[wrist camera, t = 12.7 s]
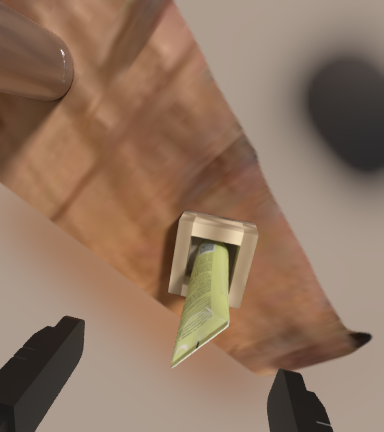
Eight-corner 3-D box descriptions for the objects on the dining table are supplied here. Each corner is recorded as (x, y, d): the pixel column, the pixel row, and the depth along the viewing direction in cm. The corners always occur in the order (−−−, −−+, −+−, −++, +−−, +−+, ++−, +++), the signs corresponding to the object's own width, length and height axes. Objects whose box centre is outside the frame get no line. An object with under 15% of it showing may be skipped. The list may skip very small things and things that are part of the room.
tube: (227, 271, 42) (225, 378, 23) (196, 268, 42) (169, 370, 24) (229, 238, 40) (229, 325, 22) (197, 236, 41) (169, 318, 22)
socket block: (174, 276, 44) (167, 292, 40) (185, 209, 41) (179, 219, 36) (238, 290, 44) (239, 308, 39) (255, 223, 40) (258, 235, 35)
